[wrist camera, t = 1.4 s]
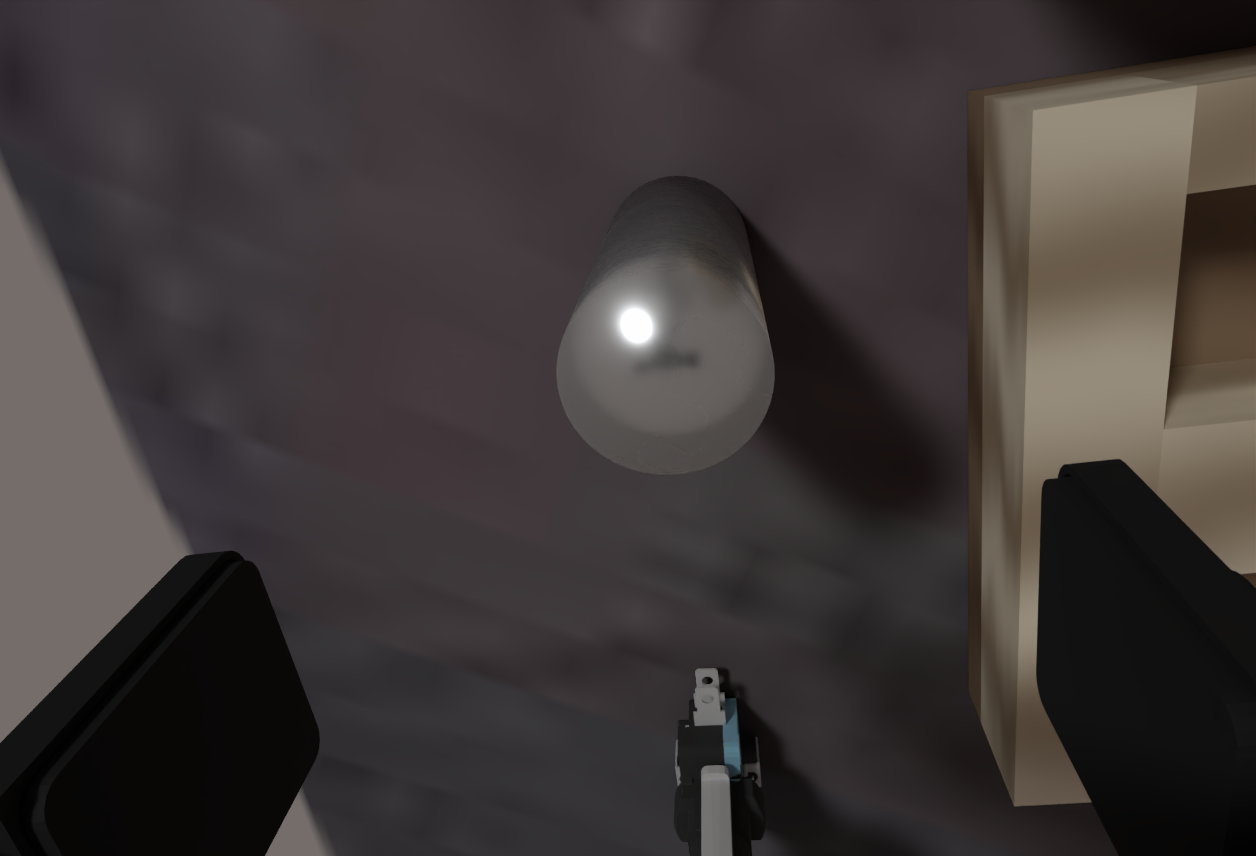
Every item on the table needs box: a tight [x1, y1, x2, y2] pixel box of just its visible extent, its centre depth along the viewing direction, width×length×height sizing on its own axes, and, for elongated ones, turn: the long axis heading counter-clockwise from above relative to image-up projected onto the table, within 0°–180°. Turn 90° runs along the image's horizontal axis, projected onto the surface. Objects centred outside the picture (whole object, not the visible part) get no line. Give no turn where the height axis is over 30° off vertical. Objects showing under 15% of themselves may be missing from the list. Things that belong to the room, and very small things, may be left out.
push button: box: [674, 668, 765, 856], centre depth 28 cm, size 7×5×10 cm
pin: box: [557, 176, 775, 475], centre depth 21 cm, size 4×4×10 cm
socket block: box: [968, 46, 1256, 806], centre depth 24 cm, size 20×12×5 cm, turn 9°
